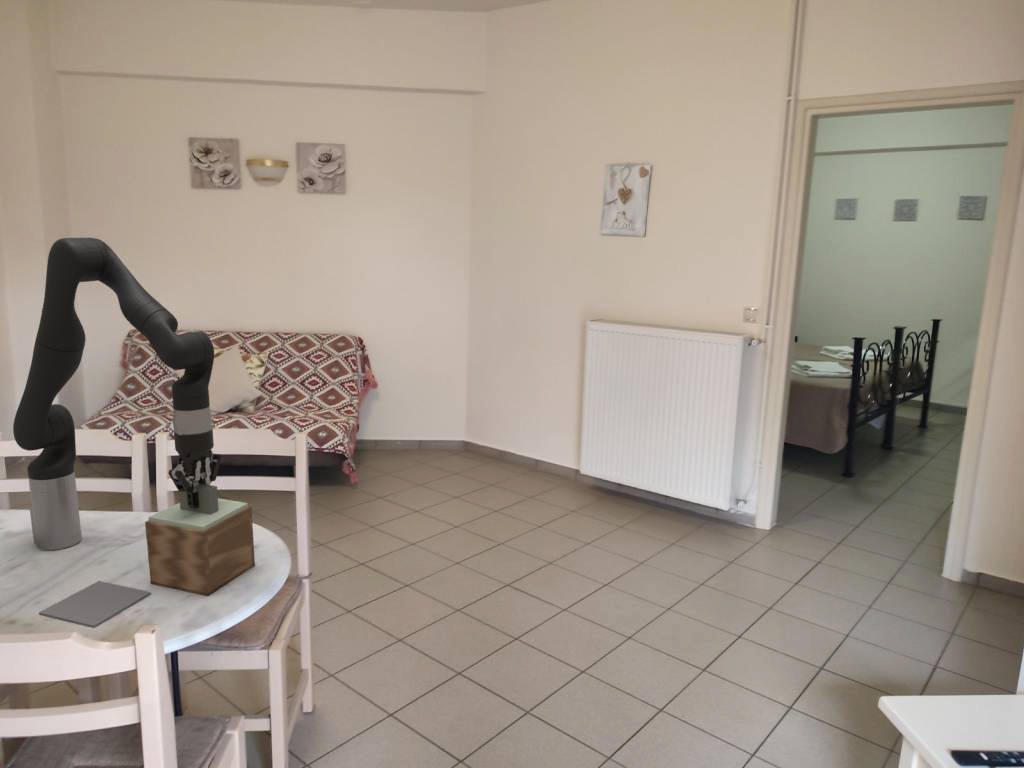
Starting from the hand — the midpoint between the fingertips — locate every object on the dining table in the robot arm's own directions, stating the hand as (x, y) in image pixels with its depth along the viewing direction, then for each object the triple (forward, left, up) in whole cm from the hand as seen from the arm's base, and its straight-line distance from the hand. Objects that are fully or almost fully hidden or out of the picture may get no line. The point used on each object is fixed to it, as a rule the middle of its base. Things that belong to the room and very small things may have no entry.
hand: (199, 505), depth 160 cm
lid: (0, 0, -3) cm, 3 cm away
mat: (-11, -18, -16) cm, 27 cm away
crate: (0, 0, -16) cm, 16 cm away
